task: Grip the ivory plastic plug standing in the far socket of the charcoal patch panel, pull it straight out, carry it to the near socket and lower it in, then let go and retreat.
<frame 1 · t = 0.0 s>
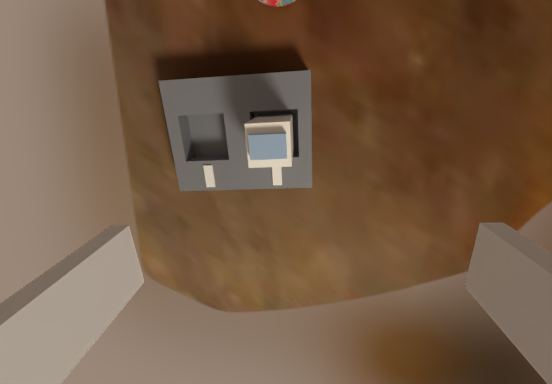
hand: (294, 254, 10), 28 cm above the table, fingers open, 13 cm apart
plug: (276, 131, 35), point 1 cm above the table, touching panel
panel: (245, 132, 37), on the table
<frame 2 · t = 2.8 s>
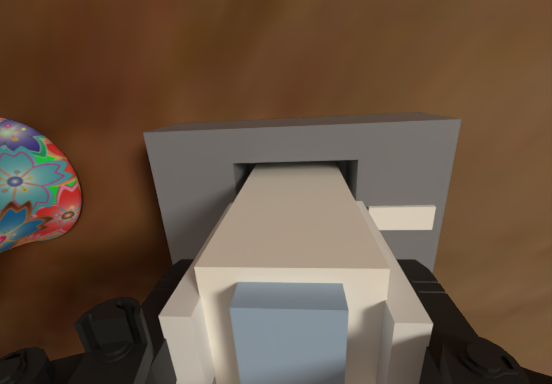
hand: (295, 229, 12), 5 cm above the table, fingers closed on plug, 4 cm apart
mug: (31, 160, 18), on the table
plug: (296, 196, 16), point 1 cm above the table, touching gripper, panel
panel: (298, 250, 19), on the table
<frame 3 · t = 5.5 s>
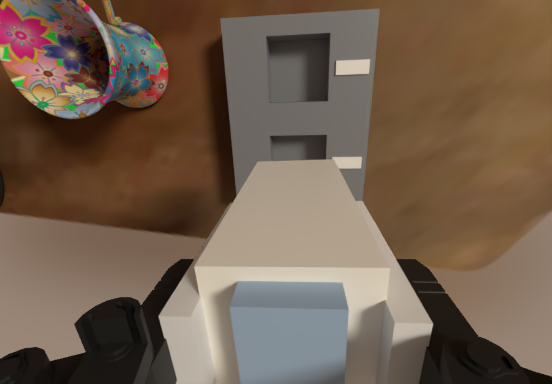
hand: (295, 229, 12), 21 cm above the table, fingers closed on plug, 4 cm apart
mug: (137, 55, 30), on the table
plug: (296, 195, 16), point 16 cm above the table, touching gripper
panel: (298, 115, 30), on the table
when the fingers open (7 cm above the table, at t = 8.1 s): plug drops 1 cm, resting on panel.
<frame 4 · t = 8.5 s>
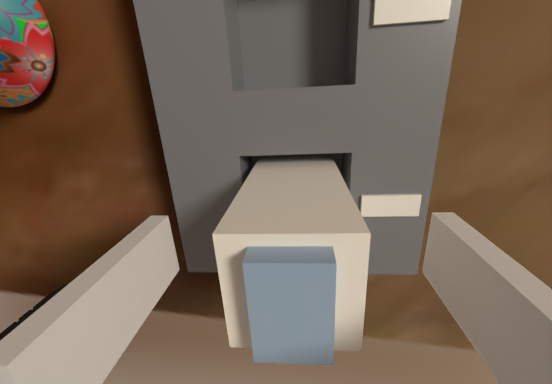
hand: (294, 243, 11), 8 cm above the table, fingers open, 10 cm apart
mug: (0, 11, 16), on the table
plug: (295, 187, 17), point 1 cm above the table, touching panel
panel: (294, 115, 17), on the table
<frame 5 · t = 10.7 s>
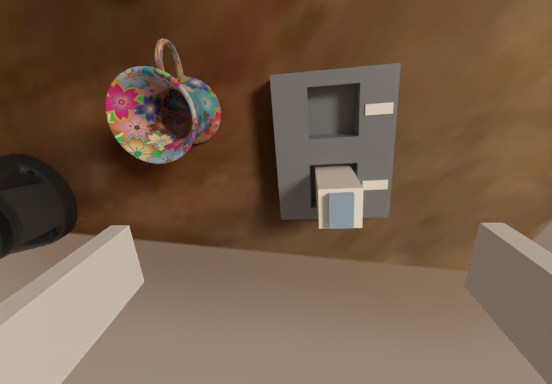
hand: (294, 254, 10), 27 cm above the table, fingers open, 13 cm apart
mug: (193, 100, 35), on the table
plug: (331, 179, 36), point 1 cm above the table, touching panel
panel: (330, 145, 35), on the table
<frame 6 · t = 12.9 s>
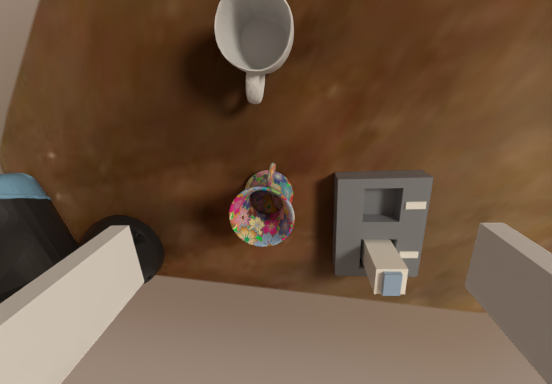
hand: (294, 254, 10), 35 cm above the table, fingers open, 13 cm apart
mug 2: (263, 58, 39), on the table
mug: (270, 184, 46), on the table
plug: (372, 244, 48), point 1 cm above the table, touching panel
panel: (373, 219, 47), on the table
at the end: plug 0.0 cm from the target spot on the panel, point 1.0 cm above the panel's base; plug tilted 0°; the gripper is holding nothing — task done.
